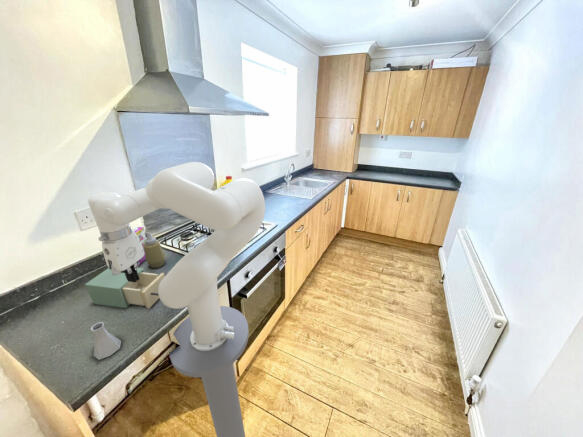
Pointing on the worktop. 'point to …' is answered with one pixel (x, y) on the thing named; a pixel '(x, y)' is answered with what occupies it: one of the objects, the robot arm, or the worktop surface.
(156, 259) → the squeeze bottle
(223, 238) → the robot arm
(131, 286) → the drawer
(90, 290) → the cabinet
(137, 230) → the candy bar box
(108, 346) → the flask
